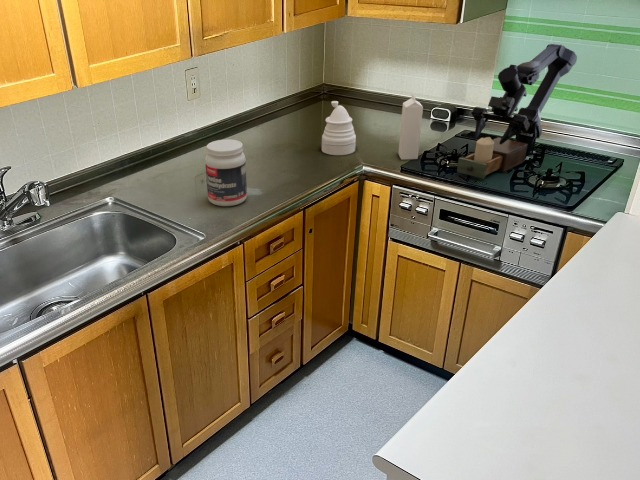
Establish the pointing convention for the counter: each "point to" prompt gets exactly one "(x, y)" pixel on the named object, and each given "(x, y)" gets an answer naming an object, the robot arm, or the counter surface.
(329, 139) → the honey pot
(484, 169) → the drawer
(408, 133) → the milk
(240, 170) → the supplement tub
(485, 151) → the candle
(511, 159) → the cabinet
